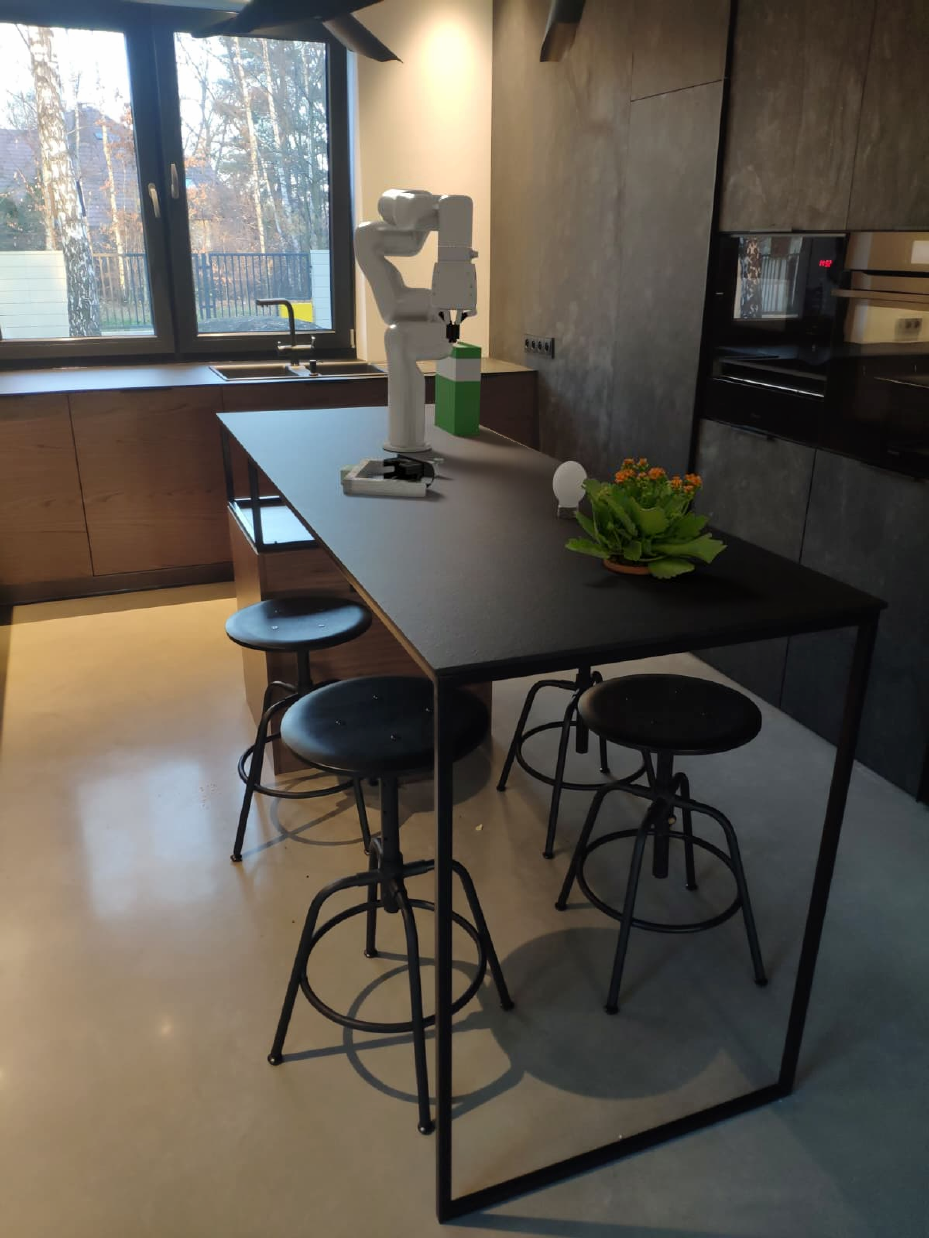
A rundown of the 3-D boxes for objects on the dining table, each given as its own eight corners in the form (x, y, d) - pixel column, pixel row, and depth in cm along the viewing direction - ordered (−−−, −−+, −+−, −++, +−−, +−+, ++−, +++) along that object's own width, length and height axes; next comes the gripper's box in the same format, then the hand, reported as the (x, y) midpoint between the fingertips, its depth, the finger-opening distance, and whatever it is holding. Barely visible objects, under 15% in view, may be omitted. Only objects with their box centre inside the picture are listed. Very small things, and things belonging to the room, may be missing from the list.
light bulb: (557, 521, 184) (561, 465, 180) (546, 512, 190) (549, 458, 186) (590, 519, 185) (594, 464, 181) (577, 511, 191) (581, 457, 187)
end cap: (435, 490, 204) (435, 460, 202) (408, 495, 200) (408, 463, 198) (408, 481, 212) (408, 452, 209) (382, 485, 208) (381, 455, 205)
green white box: (434, 425, 280) (436, 341, 272) (458, 424, 283) (460, 341, 274) (454, 436, 265) (456, 347, 256) (478, 435, 267) (481, 347, 259)
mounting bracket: (353, 470, 220) (353, 454, 219) (443, 474, 219) (443, 458, 217) (331, 492, 200) (331, 474, 199) (430, 497, 198) (430, 480, 197)
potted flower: (586, 594, 145) (595, 482, 139) (533, 549, 166) (539, 450, 160) (730, 583, 152) (745, 476, 145) (661, 541, 173) (671, 446, 167)
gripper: (489, 257, 211) (486, 342, 217) (423, 255, 212) (422, 340, 219) (487, 257, 204) (484, 345, 210) (418, 255, 205) (417, 342, 212)
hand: (452, 342), depth 215 cm, fingers closed
